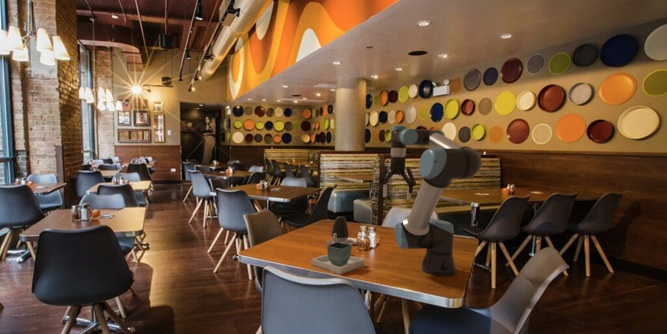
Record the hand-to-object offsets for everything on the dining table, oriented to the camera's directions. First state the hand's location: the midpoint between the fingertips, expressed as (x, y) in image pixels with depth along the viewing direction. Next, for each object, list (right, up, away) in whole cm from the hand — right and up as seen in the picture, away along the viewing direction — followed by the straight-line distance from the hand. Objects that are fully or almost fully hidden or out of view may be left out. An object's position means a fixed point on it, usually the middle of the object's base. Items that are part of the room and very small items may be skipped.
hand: (396, 198), depth 185 cm
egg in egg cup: (-28, -28, +29) cm, 49 cm away
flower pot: (-30, -30, -15) cm, 45 cm away
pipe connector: (-32, -29, +7) cm, 44 cm away
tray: (-30, -30, -15) cm, 45 cm away
